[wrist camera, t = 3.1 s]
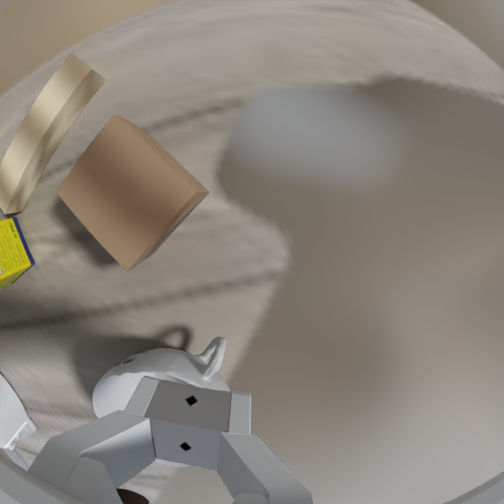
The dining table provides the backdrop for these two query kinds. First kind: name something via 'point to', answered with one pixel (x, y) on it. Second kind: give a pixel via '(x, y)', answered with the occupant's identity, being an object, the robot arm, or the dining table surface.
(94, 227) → the block
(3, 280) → the supplement box
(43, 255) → the dining table surface
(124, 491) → the coffee mug
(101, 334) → the dining table surface
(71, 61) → the beige long bar
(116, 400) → the teacup
